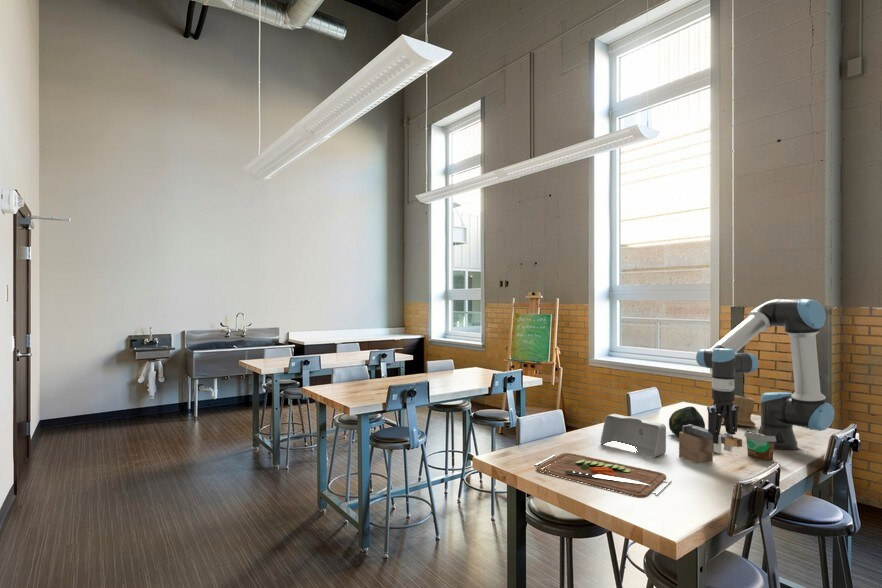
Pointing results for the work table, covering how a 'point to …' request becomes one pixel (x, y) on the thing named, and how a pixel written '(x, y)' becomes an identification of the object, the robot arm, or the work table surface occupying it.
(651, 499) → the work table surface
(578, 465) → the chopping board
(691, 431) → the bar
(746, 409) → the brown upright flared piece
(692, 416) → the squash
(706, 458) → the tong rest
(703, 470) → the work table surface
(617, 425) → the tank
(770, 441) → the food container
